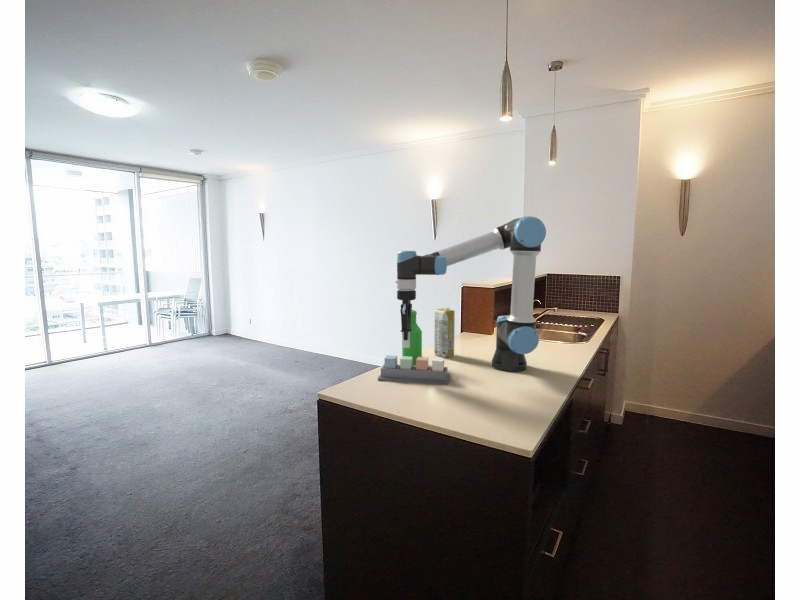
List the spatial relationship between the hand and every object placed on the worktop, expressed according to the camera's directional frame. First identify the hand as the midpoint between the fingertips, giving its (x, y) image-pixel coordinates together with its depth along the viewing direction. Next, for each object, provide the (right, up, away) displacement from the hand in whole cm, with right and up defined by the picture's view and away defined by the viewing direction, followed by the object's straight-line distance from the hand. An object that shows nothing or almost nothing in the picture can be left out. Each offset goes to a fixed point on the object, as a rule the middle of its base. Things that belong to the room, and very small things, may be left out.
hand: (406, 347), depth 165 cm
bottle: (+3, -10, +19) cm, 22 cm away
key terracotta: (+6, -9, 0) cm, 12 cm away
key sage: (0, -9, +1) cm, 9 cm away
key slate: (-6, -9, +3) cm, 11 cm away
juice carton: (+19, -8, +34) cm, 40 cm away
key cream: (+13, -10, -1) cm, 16 cm away
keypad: (+3, -13, +1) cm, 13 cm away
